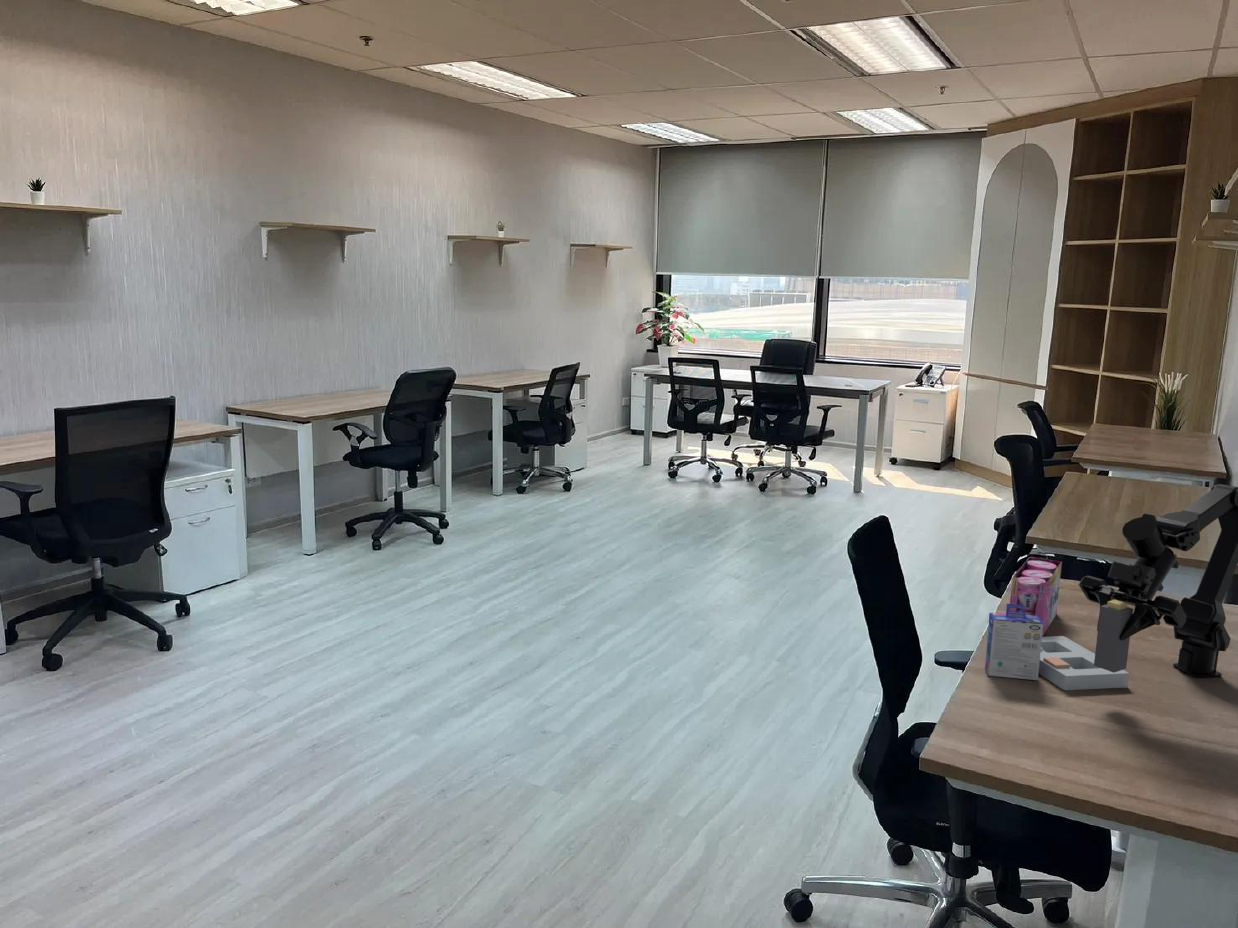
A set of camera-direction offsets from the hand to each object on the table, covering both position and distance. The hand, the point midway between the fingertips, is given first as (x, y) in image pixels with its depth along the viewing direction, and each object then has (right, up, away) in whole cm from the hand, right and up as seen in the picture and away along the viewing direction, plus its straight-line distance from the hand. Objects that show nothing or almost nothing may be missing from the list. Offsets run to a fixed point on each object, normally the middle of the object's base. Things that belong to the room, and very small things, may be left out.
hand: (1109, 635), depth 176 cm
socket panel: (0, -10, +18) cm, 21 cm away
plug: (+1, -6, +2) cm, 7 cm away
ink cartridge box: (-13, -11, +15) cm, 22 cm away
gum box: (+6, -6, +47) cm, 48 cm away
